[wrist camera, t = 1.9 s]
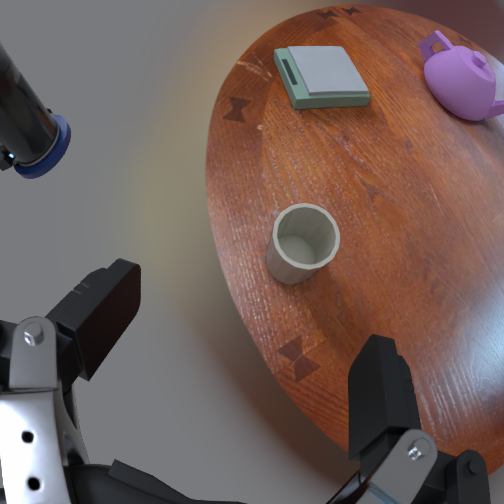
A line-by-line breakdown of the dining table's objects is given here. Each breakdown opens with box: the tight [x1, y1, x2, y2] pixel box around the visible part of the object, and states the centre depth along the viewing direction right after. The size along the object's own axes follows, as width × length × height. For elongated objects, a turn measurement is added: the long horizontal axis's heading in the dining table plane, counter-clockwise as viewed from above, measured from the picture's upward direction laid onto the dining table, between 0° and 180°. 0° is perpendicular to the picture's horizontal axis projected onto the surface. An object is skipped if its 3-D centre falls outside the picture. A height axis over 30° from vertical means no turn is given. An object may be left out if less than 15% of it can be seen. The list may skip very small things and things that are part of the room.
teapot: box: [418, 30, 504, 121], centre depth 39 cm, size 22×16×12 cm
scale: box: [274, 46, 371, 110], centre depth 41 cm, size 12×12×3 cm
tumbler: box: [265, 203, 340, 284], centre depth 31 cm, size 6×6×9 cm
